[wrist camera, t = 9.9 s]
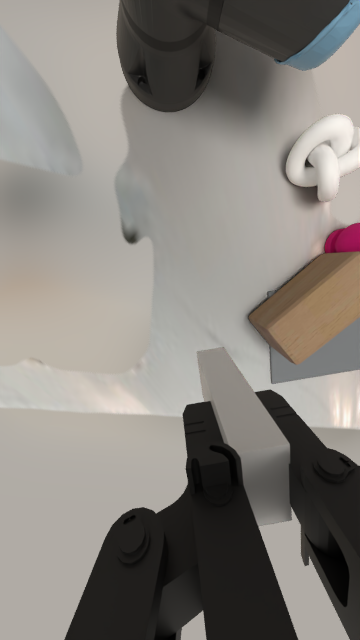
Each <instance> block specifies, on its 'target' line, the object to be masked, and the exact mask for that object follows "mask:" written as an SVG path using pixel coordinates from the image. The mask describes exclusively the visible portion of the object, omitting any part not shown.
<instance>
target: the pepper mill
mask: <svg viewBox="0 0 360 640" xmlns="http://www.w3.org/2000/svg"><path fill="white" fill-rule="evenodd" d="M358 251H359V252H360V223H355V224H352V225H350V226H348V227H347V228H343V229H338V230H336V231H334V232H333V233H331V235H330V236H329V237H328V239H327V240H326V243H325V252H326V253H340V252H358Z"/></svg>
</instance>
